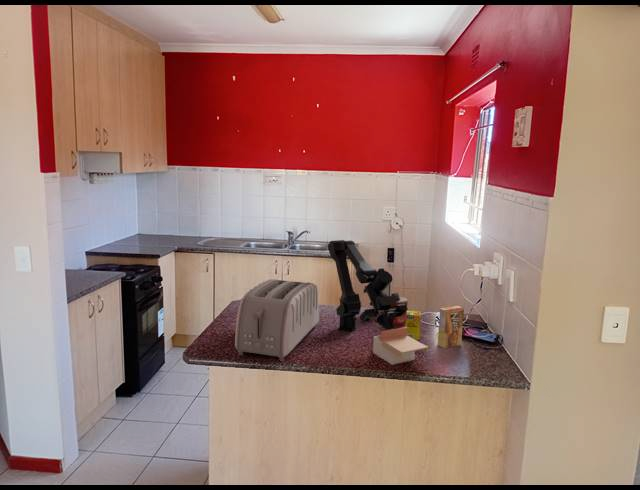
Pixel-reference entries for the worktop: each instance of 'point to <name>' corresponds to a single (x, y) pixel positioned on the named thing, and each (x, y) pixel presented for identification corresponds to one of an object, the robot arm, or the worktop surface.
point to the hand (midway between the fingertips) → (392, 333)
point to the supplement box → (413, 324)
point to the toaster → (276, 317)
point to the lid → (400, 342)
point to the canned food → (402, 319)
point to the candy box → (450, 326)
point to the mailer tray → (390, 353)
